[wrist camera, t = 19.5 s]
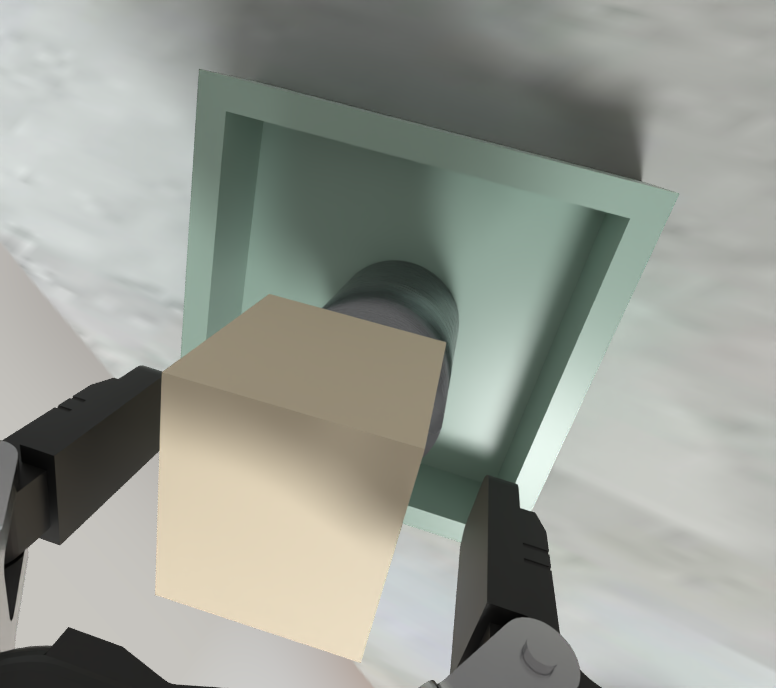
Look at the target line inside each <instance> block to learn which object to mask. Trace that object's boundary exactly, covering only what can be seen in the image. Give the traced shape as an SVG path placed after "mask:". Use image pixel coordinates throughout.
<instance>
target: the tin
mask: <svg viewBox="0 0 776 688" xmlns="http://www.w3.org/2000/svg"><path fill="white" fill-rule="evenodd" d="M322 308H323V309H326V310H330V311H334V312H337V313H341V314H345V315H348V316H352V317H356V318H359V319H363V320H367V321H370V322H374V323H378V324H381V325H385V326H389V327H392V328H396V329H400V330H403V331H407V332H411V333H414V334H418V335H421V336H425V337H429V338H432V339H436V340H440V341H443V342H446V347H445V352H444V357H443V362H442V367H441V372H440V377H439V382H438V386H437V391H436V396H435V401H434V406H433V411H432V416H431V421H430V426H429V431H428V436H427V441H426V446H425V450H424V454H423V457H424V456H425V455H426V454H427V453H428V452H429V451H430V449H431V448H432V447H433V445H434V444H435V442H436V440H437V438H438V436H439V434H440V431H441V428H442V424H443V419H444V413H445V408H446V402H447V396H448V390H449V384H450V378H451V372H452V367H453V361H454V355H455V349H456V343H457V337H458V332H459V314H458V309H457V305H456V303H455V300H454V298H453V296H452V294H451V292H450V290H449V289H448V288H447V286H446V285H445V284H444V283H443V282H442V281H441V279H440V278H438V277H437V276H436V275H435V274H434V273H432V272H431V271H429V270H428V269H426V268H424V267H422V266H420V265H417V264H414V263H411V262H406V261H400V260H389V261H381V262H377V263H374V264H371V265H369V266H367V267H365V268H363V269H361V270H360V271H359V272H357V273H356V274H355V275H354V276H353V277H352V278H351V279H350V280H349V281H348V282H347V283H346V284H345V285H344V286H343V287H342V288H341V289H340V290H339V291H338V292H337V293H336V294H335V295H334V296H333V297H332V298H331V299H330V300H329V301H328V302H327V303H326V304H325V305H324V306H323V307H322ZM423 457H422V458H423Z"/></svg>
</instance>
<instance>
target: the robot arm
mask: <svg viewBox="0 0 776 688" xmlns="http://www.w3.org/2000/svg"><path fill="white" fill-rule="evenodd" d="M161 382H162V371H159V370H156V369H152V368H149V367H146V366H138V367H136V368H135V369H133V370H132V371H130V372H129V373H127V374H126V375H124V376H123V377H121V378H119V379H116V378H112V379H108V380H105V381H102V382H99V383H96V384H92V385H90V386H88V387H87V388H85V389H83V390H82V391H80V392H79V393H77V394H76V395H74V396H73V398H72V399H70V398H69V399H68V400H66V401H65V402H63V403H61V404H60V405H59V406H58V408H53V409H52V410H50V411H48V412H47V413H45V414H44V415H42V416H40V417H39V418H37V419H36V420H34V421H32V422H31V423H29V424H28V425H26V426H24V427H23V428H22V429H20V430H18V431H16V432H15V433H13V434H12V435H10V436H9V437H7V438H5V439H4V440H0V688H217V687H203V686H188V685H176V684H171V683H168V682H167V681H165V680H164V679H162V678H161V677H160V676H159V675H157V674H156V673H155V672H154V671H153V670H151V669H150V668H149V667H147V666H146V665H145V664H143V663H142V662H141V661H140V660H139V659H137V658H136V657H135V656H133V655H132V654H131V653H130V652H128V651H127V650H126V649H125V648H123V647H122V646H119V645H116V644H113V643H111V642H108V641H105V640H102V639H100V638H97V637H94V636H91V635H89V634H86V633H83V632H80V631H77V630H75V629H72V628H69V627H68V628H67V629H66V631H65V632H64V633H63V634H62V635H61V636H60V638H59V639H58V640H57V641H56V642H55V644H53V646H32V647H31V646H30V647H25V648H18V649H15V639H16V630H17V624H18V618H19V611H20V605H21V599H22V593H23V586H24V580H25V573H26V568H27V561H28V547H29V546H30V545H31V544H32V543H34V542H35V541H36V540H37V539H38V538H41V539H43V540H46V541H49V542H52V543H55V544H58V545H61V544H62V543H63V542H64V541H65V540H66V539H67V538H68V537H69V536H70V535H71V534H72V533H74V531H76V529H78V528H79V527H80V526H81V525H82V524H83V523H84V522H85V521H86V520H87V519H88V518H89V517H90V516H91V515H92V514H93V513H94V512H96V511H97V510H98V509H99V508H100V507H101V506H102V505H103V504H104V503H105V502H106V501H107V500H108V499H109V498H110V497H111V496H112V495H113V494H114V493H116V491H118V489H120V487H122V486H123V485H124V484H125V483H126V482H127V481H128V480H129V479H130V478H131V477H132V476H133V475H134V474H135V473H137V472H138V470H140V469H141V468H142V467H143V466H144V465H145V464H146V463H147V462H148V461H149V460H150V459H151V458H152V457H153V456H154V455H155V454H156V453H158V452H159V450H160V416H161ZM548 552H549V549H548V541H547V534H546V531H545V529H544V527H543V525H542V524H541V522H540V520H539V518H538V517H537V515H536V513H535V512H531V511H528V510H525V509H522V508H520V499H519V487H518V484H516V483H513V482H509V481H506V480H503V479H500V478H497V477H493V476H490V475H486V476H485V477H484V479H483V482H482V484H481V487H480V489H479V492H478V494H477V497H476V499H475V502H474V504H473V507H472V509H471V512H470V514H469V517H468V519H467V522H466V525H465V528H464V531H463V535H462V540H461V546H460V556H459V569H458V581H457V594H456V606H455V619H454V631H453V644H452V657H451V669H450V675H449V676H448V677H447V678H446V679H444V680H443V681H442V682H440V683H439V684H437V683H436V682H435V681H434V680H430V681H428V682H426V683H425V684H423V685H422V686H420V687H419V688H601V687H600V686H598V685H597V684H596V683H594V682H593V681H592V680H590V679H589V678H588V677H587V676H586V675H585V674H584V673H583V672H582V671H581V670H580V666H579V663H578V660H577V657H576V655H575V653H574V651H573V650H572V648H571V646H570V645H569V644H568V642H567V641H566V640H565V639H564V638H563V637H562V636H561V634H560V631H559V624H558V616H557V609H556V601H555V594H554V586H553V579H552V571H550V568H551V564H550V556H549V554H548Z"/></svg>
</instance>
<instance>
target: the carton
mask: <svg viewBox="0 0 776 688" xmlns="http://www.w3.org/2000/svg"><path fill="white" fill-rule="evenodd" d="M445 347H446V342H443V341H440V340H436V339H432V338H429V337H425V336H421V335H418V334H414V333H411V332H407V331H403V330H400V329H396V328H392V327H389V326H385V325H381V324H378V323H374V322H370V321H367V320H363V319H359V318H356V317H352V316H348V315H345V314H341V313H337V312H334V311H330V310H326V309H323V308H319V307H315V306H312V305H308V304H304V303H301V302H297V301H294V300H290V299H286V298H283V297H279V296H275V295H272V294H268V295H267V296H266V297H264V298H263V299H262V300H260V301H259V302H257V303H256V304H255V305H253V306H252V307H251V308H249V309H248V310H247V311H245V312H244V313H242V314H241V315H240V316H238V317H237V318H236V319H234V320H233V321H231V322H230V323H229V324H227V325H226V326H225V327H223V328H222V329H220V330H219V331H218V332H216V333H215V334H214V335H212V336H211V337H209V338H208V339H207V340H205V341H204V342H203V343H201V344H200V345H198V346H197V347H196V348H194V349H193V350H192V351H190V352H189V353H188V354H186V355H185V356H183V357H182V358H181V359H179V360H178V361H177V362H175V363H174V364H172V365H171V366H170V367H168V368H167V369H166V370H164V371H163V372H162V382H161V416H160V450H159V451H160V452H159V484H158V485H159V486H158V517H157V551H156V552H157V554H156V586H155V595H157V596H160V597H163V598H166V599H169V600H172V601H175V602H178V603H181V604H184V605H188V606H190V607H193V608H196V609H199V610H203V611H206V612H208V613H211V614H215V615H218V616H221V617H223V618H227V619H230V620H233V621H236V622H239V623H242V624H245V625H248V626H251V627H254V628H257V629H260V630H263V631H266V632H269V633H272V634H275V635H278V636H281V637H284V638H287V639H290V640H293V641H296V642H299V643H302V644H305V645H308V646H311V647H314V648H317V649H320V650H323V651H326V652H329V653H332V654H335V655H338V656H341V657H344V658H347V659H350V660H353V661H356V662H359V663H361V660H362V657H363V653H364V650H365V647H366V643H367V640H368V637H369V633H370V630H371V627H372V623H373V620H374V617H375V613H376V610H377V607H378V603H379V600H380V597H381V593H382V590H383V587H384V583H385V580H386V577H387V573H388V570H389V567H390V563H391V560H392V557H393V554H394V550H395V547H396V544H397V540H398V537H399V534H400V530H401V527H402V524H403V520H404V517H405V514H406V510H407V507H408V504H409V500H410V497H411V494H412V490H413V487H414V484H415V480H416V477H417V474H418V470H419V467H420V464H421V460H422V457H423V454H424V450H425V446H426V441H427V436H428V431H429V426H430V421H431V416H432V411H433V406H434V401H435V396H436V391H437V386H438V382H439V377H440V372H441V367H442V362H443V357H444V352H445Z"/></svg>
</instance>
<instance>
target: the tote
mask: <svg viewBox="0 0 776 688" xmlns="http://www.w3.org/2000/svg"><path fill="white" fill-rule="evenodd" d="M678 196H679V193H676V192H673V191H670V190H667V189H664V188H661V187H658V186H655V185H651V184H648V183H645V182H642V181H638V180H635V179H631V178H627V177H623V176H619V175H615V174H611V173H608V172H604V171H600V170H596V169H592V168H588V167H584V166H581V165H577V164H573V163H569V162H565V161H561V160H557V159H554V158H550V157H546V156H542V155H538V154H534V153H530V152H527V151H523V150H519V149H515V148H511V147H507V146H503V145H500V144H496V143H492V142H488V141H484V140H480V139H476V138H473V137H469V136H465V135H461V134H457V133H453V132H449V131H446V130H442V129H438V128H434V127H430V126H426V125H422V124H419V123H415V122H411V121H407V120H403V119H399V118H395V117H392V116H388V115H384V114H380V113H376V112H372V111H368V110H365V109H361V108H357V107H353V106H349V105H345V104H341V103H338V102H334V101H330V100H326V99H322V98H318V97H314V96H311V95H307V94H303V93H299V92H295V91H291V90H287V89H284V88H280V87H276V86H272V85H268V84H264V83H260V82H256V81H252V80H248V79H243V78H239V77H234V76H229V75H225V74H220V73H215V72H211V71H206V70H202V69H199V77H198V93H197V109H196V124H195V140H194V156H193V172H192V187H191V203H190V219H189V235H188V251H187V266H186V282H185V298H184V314H183V329H182V345H181V358H182V357H183V356H185V355H186V354H188V353H189V352H190V351H192V350H193V349H194V348H196V347H197V346H198V345H200V344H201V343H203V342H204V341H205V340H207V339H208V338H209V337H211V336H212V335H214V334H215V333H216V332H218V331H219V330H220V329H222V328H223V327H225V326H226V325H227V324H229V323H230V322H231V321H233V320H234V319H236V318H237V317H238V316H240V315H241V314H242V313H244V312H245V311H247V310H248V309H249V308H251V307H252V306H253V305H255V304H256V303H257V302H259V301H260V300H262V299H263V298H264V297H266V296H267V295H268V294H272V295H275V296H279V297H283V298H286V299H290V300H294V301H297V302H301V303H304V304H308V305H312V306H315V307H319V308H322V307H323V306H324V305H325V304H326V303H327V302H328V301H329V300H330V299H331V298H332V297H333V296H334V295H335V294H336V293H337V292H338V291H339V290H340V289H341V288H342V287H343V286H344V285H345V284H346V283H347V282H348V281H349V280H350V279H351V278H352V277H353V276H354V275H355V274H356V273H357V272H359V271H360V270H361V269H363V268H365V267H367V266H369V265H371V264H374V263H377V262H381V261H389V260H400V261H406V262H411V263H414V264H417V265H420V266H422V267H424V268H426V269H428V270H429V271H431V272H432V273H434V274H435V275H436V276H437V277H438V278H440V279H441V281H442V282H443V283H444V284H445V285H446V286H447V288H448V289H449V290H450V292H451V294H452V296H453V298H454V300H455V303H456V305H457V309H458V314H459V332H458V337H457V343H456V349H455V355H454V361H453V367H452V372H451V378H450V384H449V390H448V396H447V402H446V408H445V413H444V419H443V424H442V428H441V431H440V434H439V436H438V438H437V440H436V442H435V444H434V445H433V447H432V448H431V449H430V451H429V452H428V453H427V454H426V455H425V456H424V457H423V458H422V460H421V464H420V467H419V470H418V474H417V477H416V480H415V484H414V487H413V490H412V494H411V497H410V500H409V504H408V507H407V510H406V514H405V517H404V520H403V524H405V525H408V526H412V527H415V528H418V529H421V530H424V531H427V532H430V533H433V534H436V535H439V536H442V537H445V538H448V539H451V540H454V541H457V542H461V540H462V535H463V531H464V528H465V525H466V522H467V519H468V517H469V514H470V512H471V509H472V507H473V504H474V502H475V499H476V497H477V494H478V492H479V489H480V487H481V484H482V482H483V479H484V477H485V476H486V475H490V476H493V477H497V478H500V479H503V480H506V481H509V482H513V483H516V484H518V487H519V499H520V508H522V509H525V510H528V511H532V509H533V507H534V505H535V503H536V500H537V498H538V496H539V494H540V492H541V490H542V488H543V485H544V483H545V481H546V479H547V477H548V475H549V473H550V470H551V468H552V466H553V464H554V462H555V460H556V458H557V455H558V453H559V451H560V449H561V447H562V445H563V443H564V440H565V438H566V436H567V434H568V432H569V430H570V427H571V425H572V423H573V421H574V419H575V417H576V415H577V412H578V410H579V408H580V406H581V404H582V402H583V400H584V397H585V395H586V393H587V391H588V389H589V387H590V385H591V382H592V380H593V378H594V376H595V374H596V372H597V370H598V367H599V365H600V363H601V361H602V359H603V357H604V354H605V352H606V350H607V348H608V346H609V344H610V342H611V339H612V337H613V335H614V333H615V331H616V329H617V327H618V324H619V322H620V320H621V318H622V316H623V314H624V312H625V309H626V307H627V305H628V303H629V301H630V299H631V296H632V294H633V292H634V290H635V288H636V286H637V284H638V281H639V279H640V277H641V275H642V273H643V271H644V269H645V266H646V264H647V262H648V260H649V258H650V256H651V254H652V251H653V249H654V247H655V245H656V243H657V241H658V239H659V236H660V234H661V232H662V230H663V228H664V226H665V223H666V221H667V219H668V217H669V215H670V213H671V211H672V208H673V206H674V204H675V202H676V200H677V198H678Z"/></svg>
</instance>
